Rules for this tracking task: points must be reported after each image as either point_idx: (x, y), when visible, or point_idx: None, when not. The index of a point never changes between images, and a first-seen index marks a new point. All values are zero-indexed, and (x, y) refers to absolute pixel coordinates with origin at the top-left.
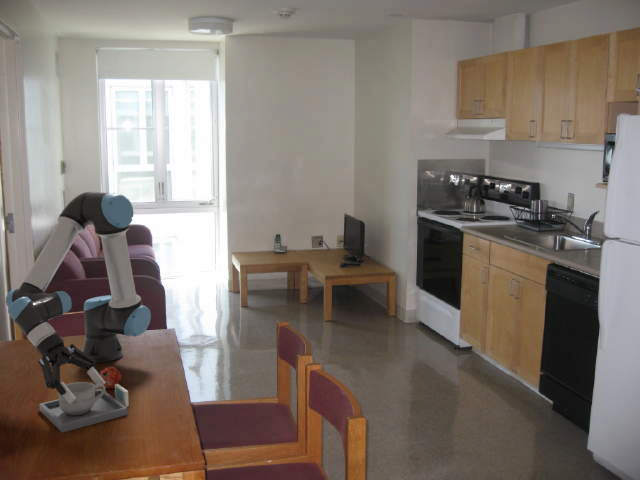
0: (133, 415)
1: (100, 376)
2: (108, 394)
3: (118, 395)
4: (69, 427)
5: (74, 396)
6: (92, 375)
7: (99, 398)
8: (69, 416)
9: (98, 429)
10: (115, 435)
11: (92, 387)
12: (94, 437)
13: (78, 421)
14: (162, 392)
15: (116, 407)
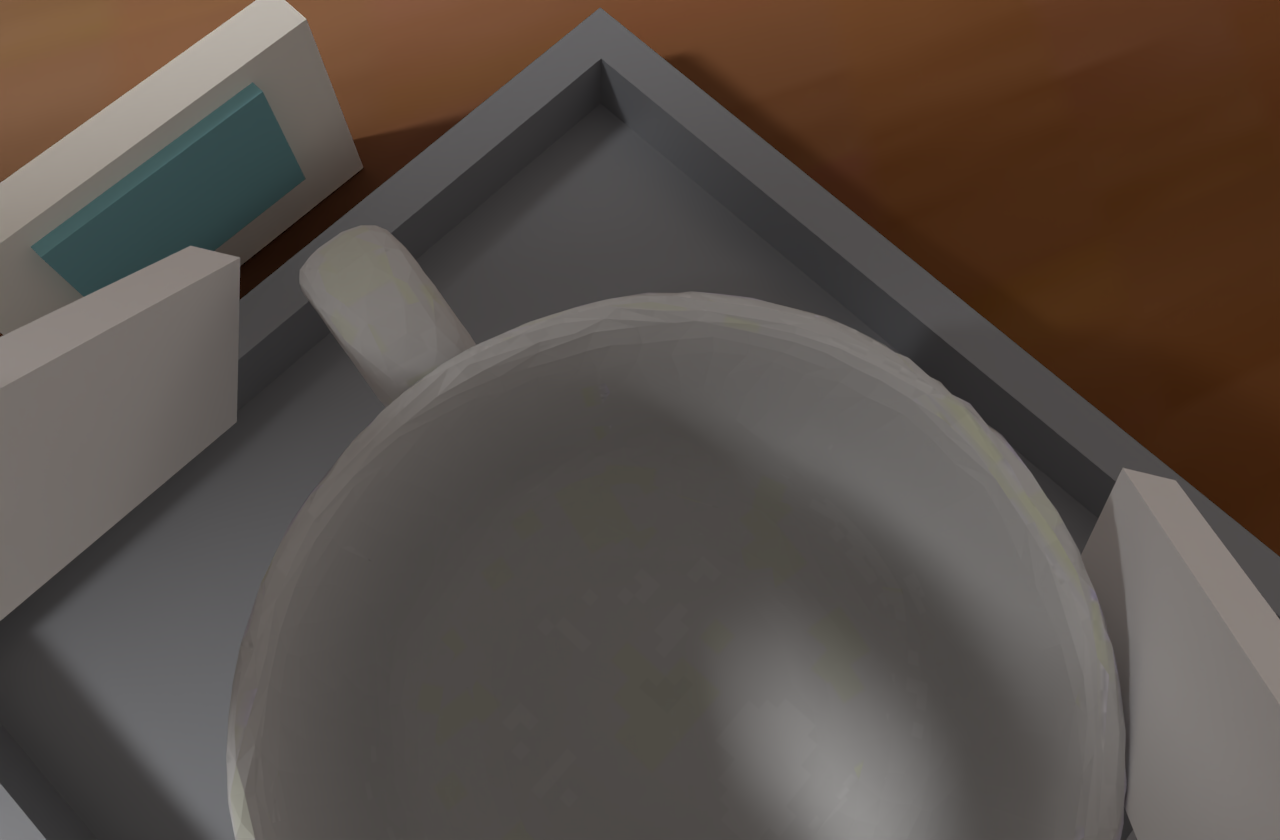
0: (607, 9)
1: (89, 302)
2: None
3: (173, 248)
4: None
5: (1152, 495)
6: (38, 510)
7: (106, 605)
8: None
9: (1051, 234)
10: (1132, 17)
11: (648, 306)
12: (1247, 197)
13: (1136, 448)
14: None
15: (445, 234)
